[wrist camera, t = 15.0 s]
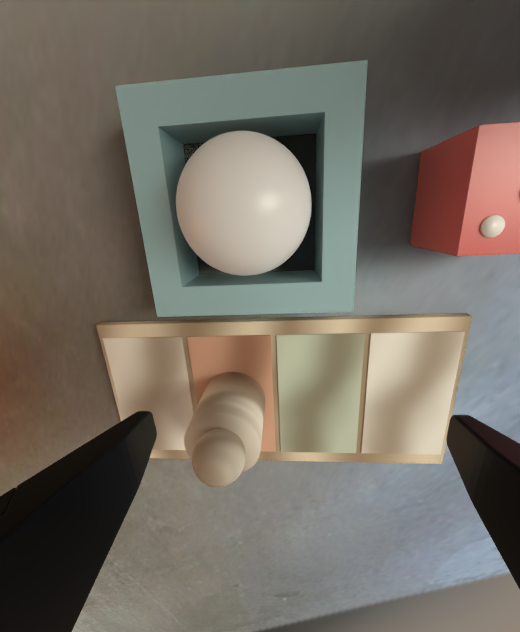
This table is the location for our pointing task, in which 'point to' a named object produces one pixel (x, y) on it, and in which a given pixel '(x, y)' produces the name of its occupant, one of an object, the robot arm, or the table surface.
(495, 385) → the table surface
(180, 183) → the white ball
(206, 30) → the table surface
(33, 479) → the robot arm
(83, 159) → the table surface
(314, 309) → the housing
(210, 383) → the pawn
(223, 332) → the game board
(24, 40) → the table surface
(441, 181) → the red die
